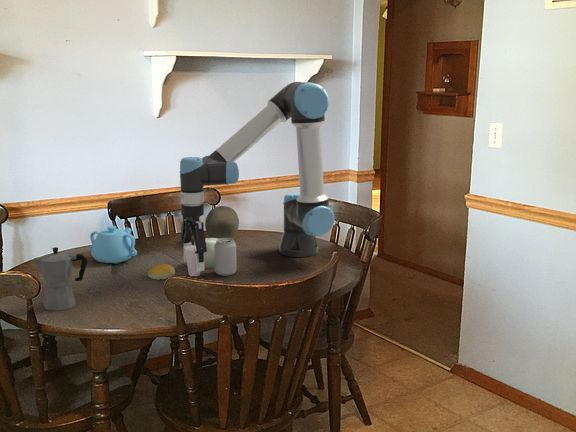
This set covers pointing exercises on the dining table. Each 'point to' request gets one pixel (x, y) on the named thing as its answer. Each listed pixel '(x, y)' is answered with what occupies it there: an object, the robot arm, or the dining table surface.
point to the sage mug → (209, 253)
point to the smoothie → (191, 260)
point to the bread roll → (161, 271)
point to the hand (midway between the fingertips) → (194, 266)
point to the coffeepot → (59, 278)
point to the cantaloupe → (222, 222)
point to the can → (225, 256)
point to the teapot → (113, 245)
